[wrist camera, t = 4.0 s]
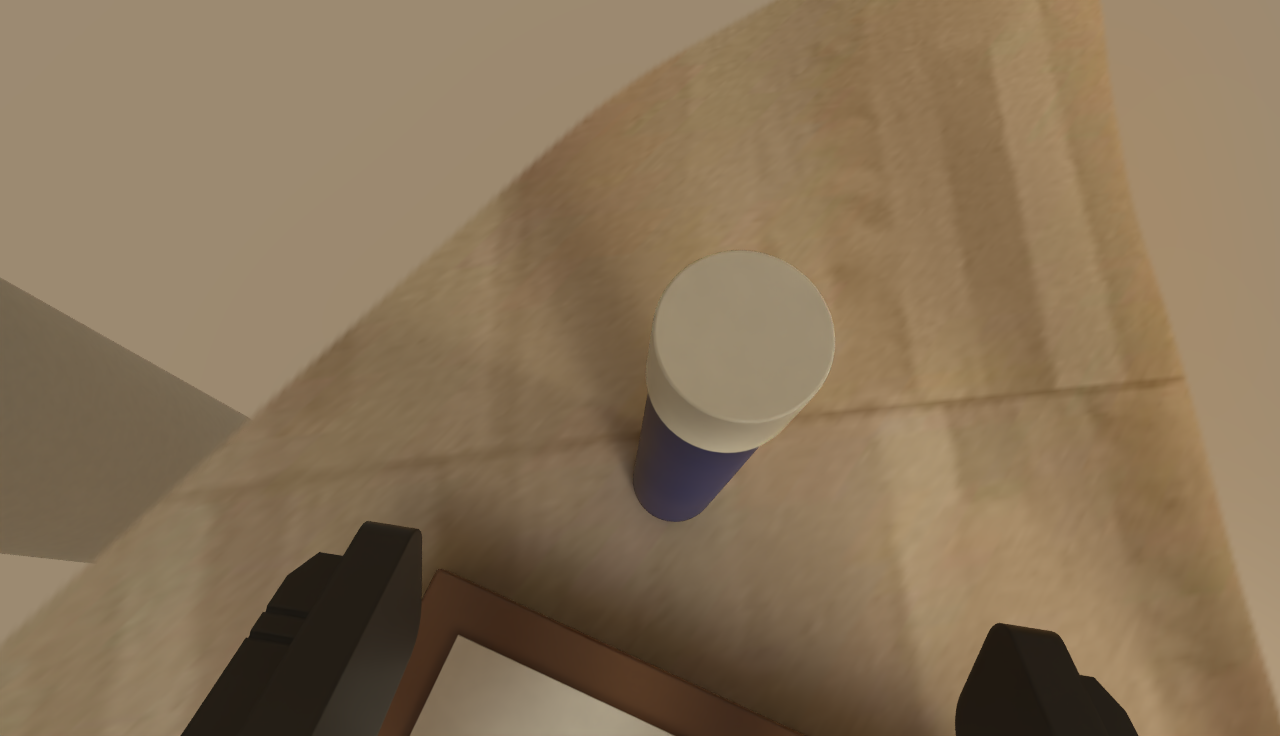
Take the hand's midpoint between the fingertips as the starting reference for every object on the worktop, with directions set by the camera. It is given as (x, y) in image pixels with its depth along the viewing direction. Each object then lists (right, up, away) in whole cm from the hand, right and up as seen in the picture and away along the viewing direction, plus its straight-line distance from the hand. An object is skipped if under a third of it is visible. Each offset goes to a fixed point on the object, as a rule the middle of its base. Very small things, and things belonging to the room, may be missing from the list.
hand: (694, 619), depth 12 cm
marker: (0, +1, +11) cm, 11 cm away
